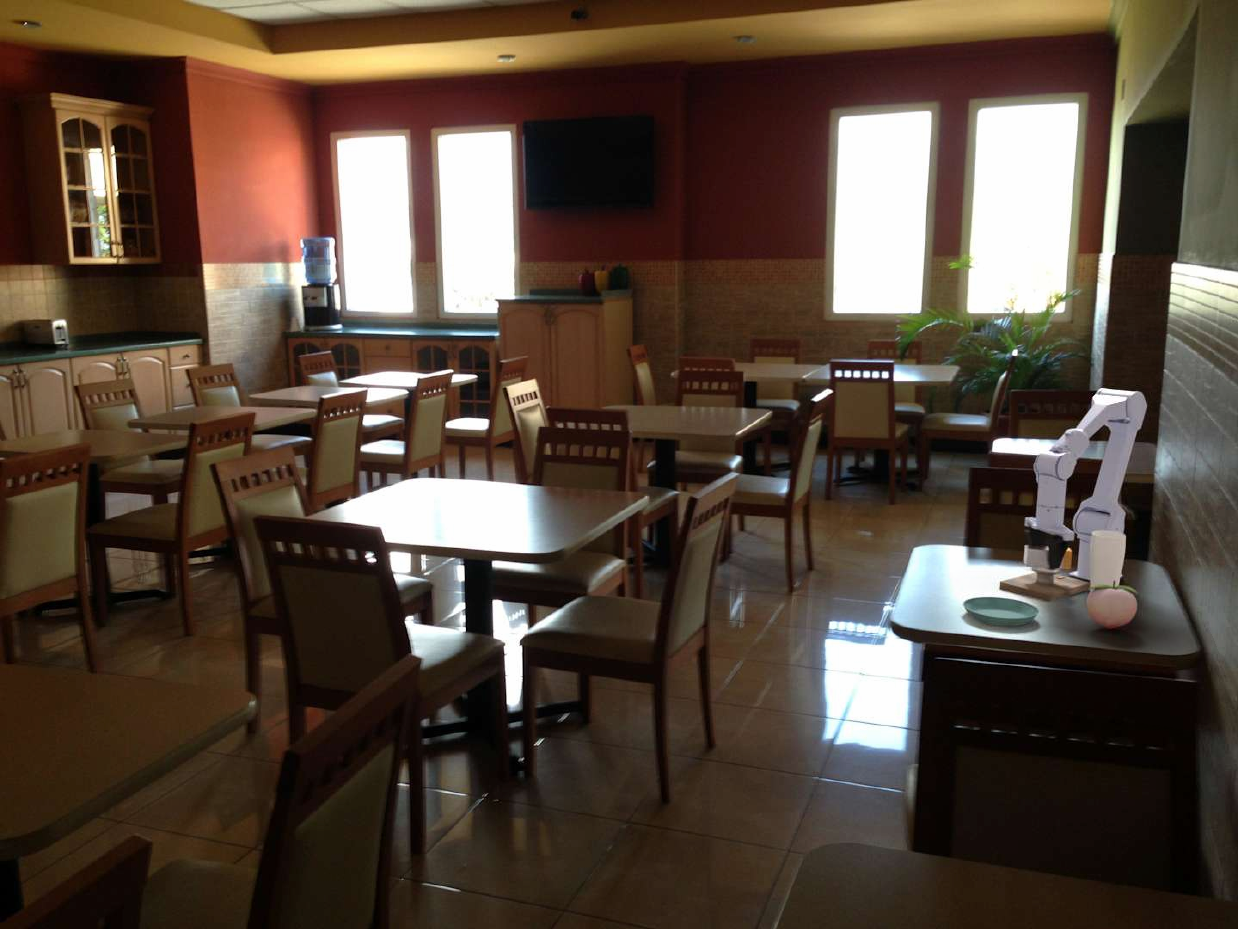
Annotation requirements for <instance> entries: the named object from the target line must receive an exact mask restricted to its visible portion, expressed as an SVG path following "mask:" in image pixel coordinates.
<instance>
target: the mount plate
mask: <svg viewBox="0 0 1238 929" xmlns="http://www.w3.org/2000/svg"><path fill="white" fill-rule="evenodd" d="M1089 588H1090V582H1088V581H1084V580H1082V579H1081V580H1080V579H1077V578H1072V577H1068V576H1064V575H1060V574H1041V573H1037V572H1032V573H1027V574H1023V575H1021V576H1016V577H1013V578H1009V579H1005V580H1002V581H999V588H998V589H1001V590H1005V591H1009V592H1012V593H1016V594H1018V595H1023V596H1026V597H1031V598H1033V599H1037V600H1041V601H1045V602H1050V601H1053V600H1054V601H1055V600H1057V599H1061V598H1064V597H1067V596H1071V595H1074V594H1077V593H1081V592H1084V591H1089V590H1088V589H1089Z"/></svg>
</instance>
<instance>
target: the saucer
mask: <svg viewBox="0 0 1238 929" xmlns="http://www.w3.org/2000/svg"><path fill="white" fill-rule="evenodd" d="M962 606H963V608H964V610H966V612H967V614H968V615H969V616H970V617H971V618H972V619H974V620H975V619H976V621H978V622H980V623H983V624H987V625H991V626H996V627H1006V626H1013V627H1020V626H1024V625H1027V624H1028V623H1031V621H1033V620H1035V618H1036V617H1037V616H1038V615H1039V613H1040V610H1039V608H1038V607H1037V606H1035V605H1033V604H1031V603H1028V602H1026V601H1023V600H1020V599H1019V600H1018V599H1013V598H1006V597H1000V596H996V597H995V596H979V597H977V596H976V597H971V598H968V599H965V600H964V601H963V603H962Z"/></svg>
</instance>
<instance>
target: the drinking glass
mask: <svg viewBox="0 0 1238 929" xmlns="http://www.w3.org/2000/svg"><path fill="white" fill-rule="evenodd" d="M1126 540H1127V536H1126V534H1125V533H1123V534H1122V533H1119V532H1114V531H1104V530H1100V531H1094V532H1092V537H1091V545H1090V580H1089V583H1090V587H1092V586H1094V585H1097V584H1106V585H1109V586H1112V587H1113V583H1114V581H1115V586H1120V580H1121V577H1120V576H1121V575H1122V571H1123V570H1122V569H1123V566H1124V559H1125V554H1126V544H1127V543H1126V542H1127V541H1126ZM1092 590H1093V589H1091V590H1089V593H1090V592H1091V591H1092Z"/></svg>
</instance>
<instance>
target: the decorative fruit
mask: <svg viewBox="0 0 1238 929" xmlns="http://www.w3.org/2000/svg"><path fill="white" fill-rule="evenodd" d="M1091 589H1093V590H1092V591H1091V592H1090V590H1091ZM1087 591H1089V593H1088V595H1087V598H1086V609H1087V612H1088V614H1089V615H1090V617H1091V618H1092V619H1093V620H1094V621H1095V622H1097V623H1098V624H1099V625H1101V626H1103V627H1105V628H1106V629H1109V630H1112V629H1113V628H1114V629H1115V628H1118V627H1122V626H1125V625H1126V624H1129V623H1130V622H1132V620H1133V618H1134V617H1135V615H1136V613H1137V612H1138V611H1137V610H1138V601H1137V599H1136V596H1135V595H1134V594H1136V595H1138V596H1139V595H1140V594H1139V593H1138V591H1137V590H1135V589H1134V588H1132V587H1131V586H1127V585H1119V586H1115V581H1114V583H1113V587H1112V586H1109V585H1106V584H1097V585H1094V586H1092V587H1090V588H1089V589H1088V590H1087Z"/></svg>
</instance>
